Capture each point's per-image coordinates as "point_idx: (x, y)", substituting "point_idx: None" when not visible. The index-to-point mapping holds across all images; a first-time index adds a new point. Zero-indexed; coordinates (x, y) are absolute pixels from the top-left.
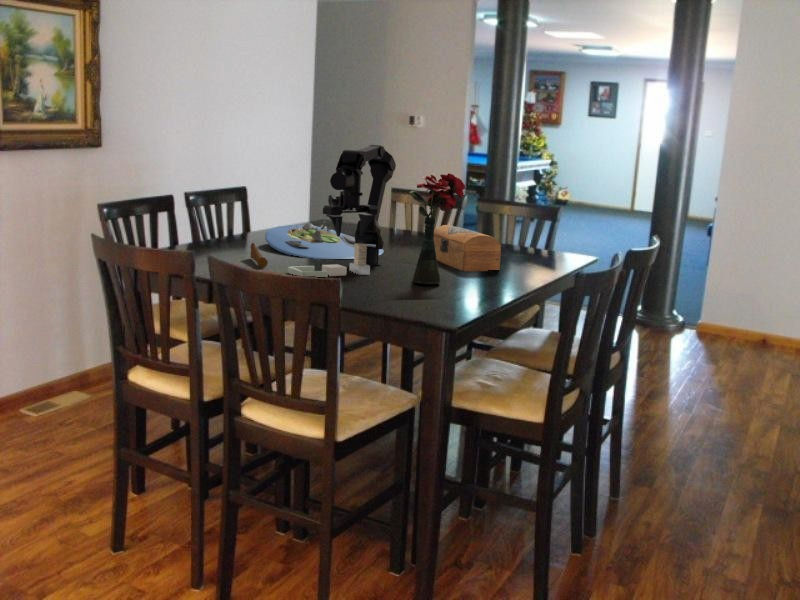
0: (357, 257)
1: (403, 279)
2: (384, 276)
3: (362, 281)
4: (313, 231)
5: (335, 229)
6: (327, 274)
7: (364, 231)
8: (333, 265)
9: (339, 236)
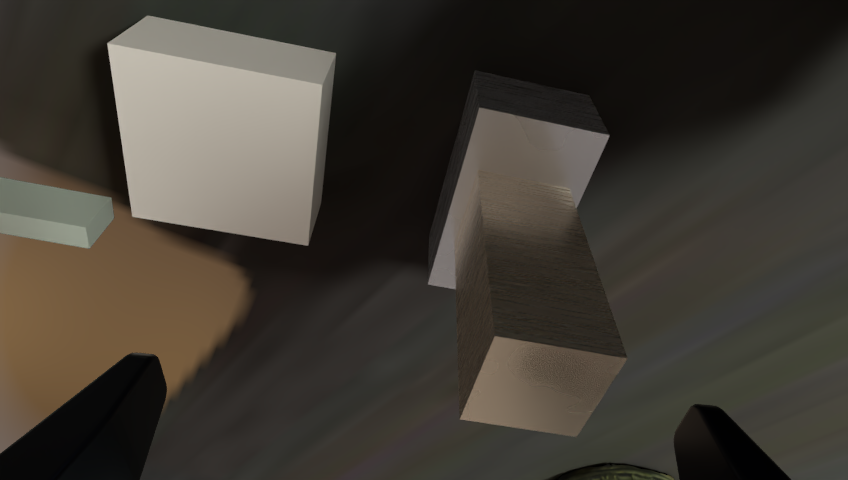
0: (460, 279)
1: None
2: None
3: (294, 386)
4: None
5: (1, 477)
6: (100, 231)
7: None
8: (228, 124)
9: (162, 394)
